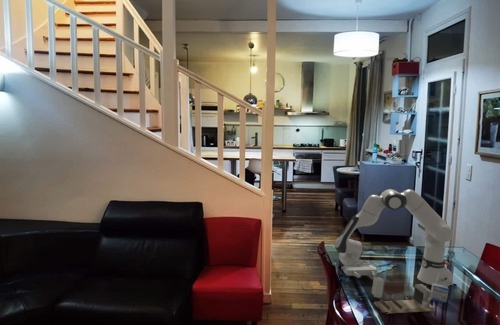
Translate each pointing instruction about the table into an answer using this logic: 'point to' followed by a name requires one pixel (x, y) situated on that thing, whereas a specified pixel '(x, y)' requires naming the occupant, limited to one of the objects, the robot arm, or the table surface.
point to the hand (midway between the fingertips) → (366, 276)
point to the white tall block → (377, 287)
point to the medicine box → (439, 292)
